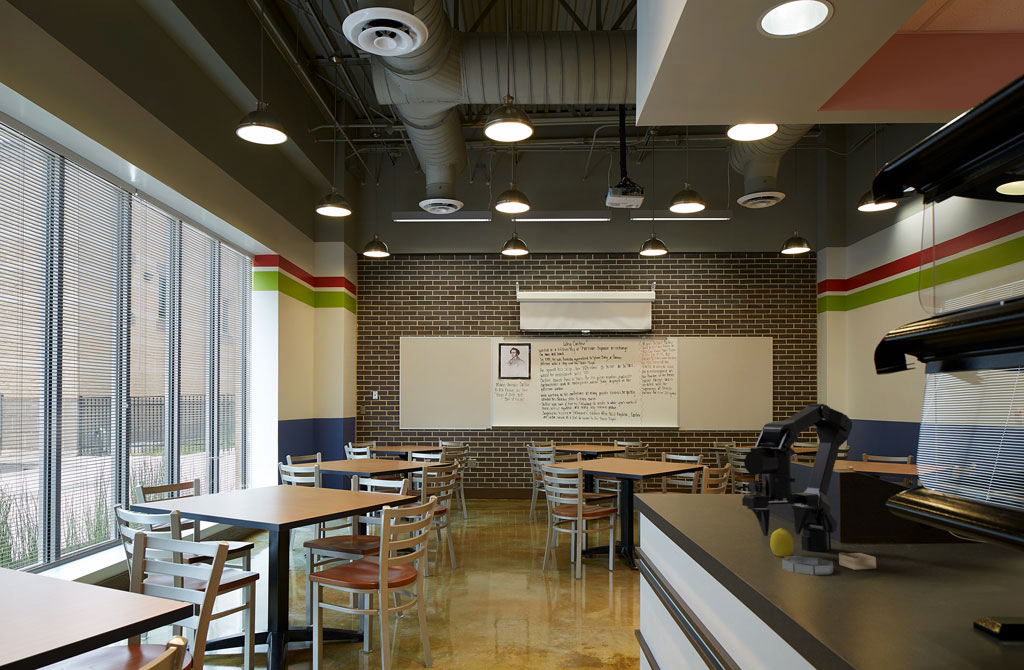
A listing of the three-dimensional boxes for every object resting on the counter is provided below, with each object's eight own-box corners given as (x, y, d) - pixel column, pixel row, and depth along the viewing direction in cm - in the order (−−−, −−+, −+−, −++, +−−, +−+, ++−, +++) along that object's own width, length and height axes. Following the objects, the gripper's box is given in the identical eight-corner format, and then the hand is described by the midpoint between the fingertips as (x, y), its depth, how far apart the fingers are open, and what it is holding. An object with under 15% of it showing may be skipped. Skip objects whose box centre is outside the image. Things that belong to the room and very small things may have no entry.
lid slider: (860, 563, 163) (860, 551, 163) (876, 568, 158) (875, 556, 158) (839, 564, 161) (838, 552, 162) (854, 569, 156) (853, 557, 157)
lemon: (797, 560, 171) (796, 527, 172) (789, 563, 167) (787, 530, 168) (775, 556, 175) (774, 525, 175) (767, 560, 171) (766, 527, 171)
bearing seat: (812, 563, 163) (812, 554, 163) (842, 573, 153) (842, 564, 153) (774, 565, 160) (774, 556, 161) (802, 576, 150) (802, 566, 151)
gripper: (791, 469, 183) (793, 528, 181) (729, 470, 179) (731, 530, 177) (819, 473, 172) (821, 536, 171) (753, 474, 168) (756, 538, 166)
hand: (781, 535), depth 171 cm, fingers open, 9 cm apart
